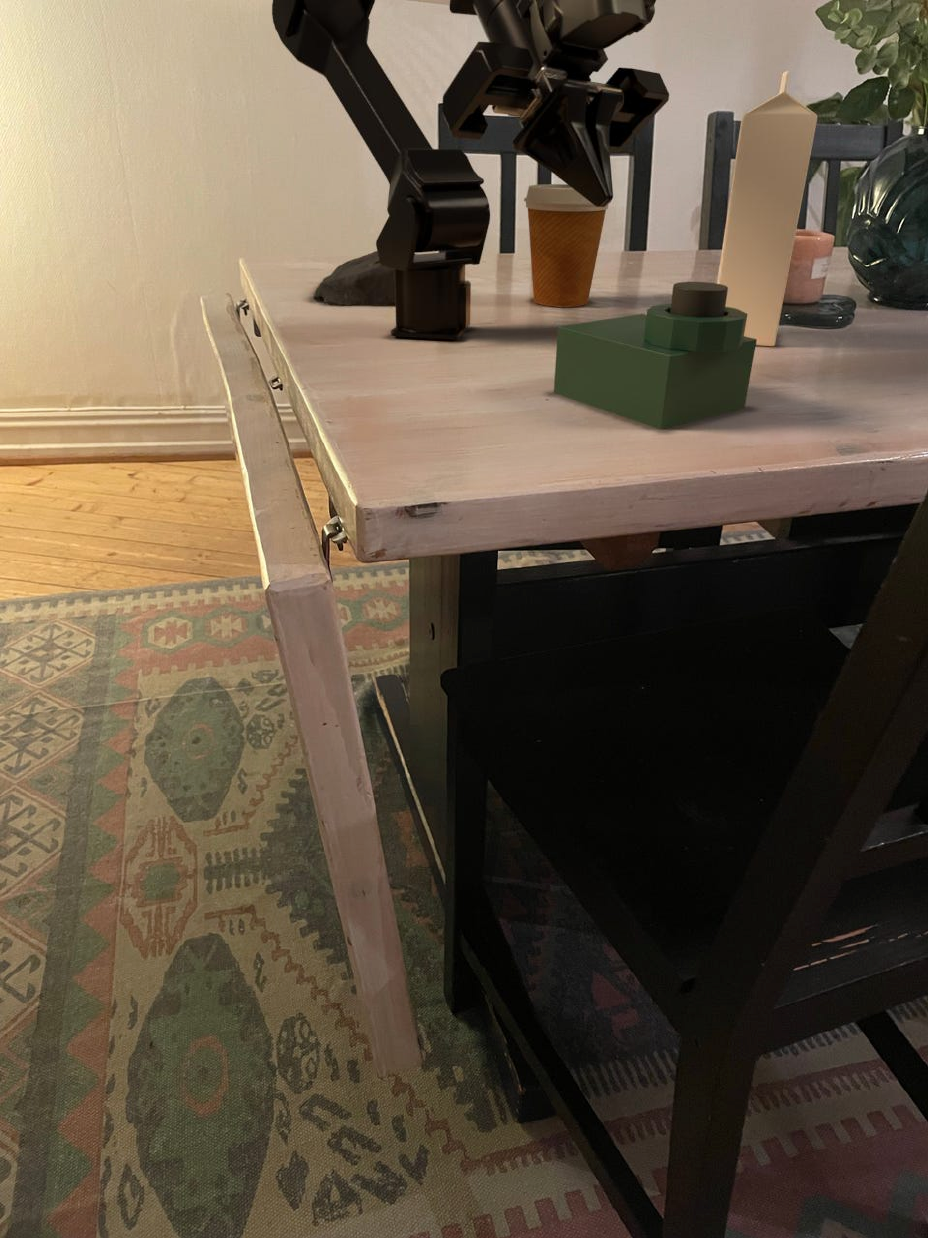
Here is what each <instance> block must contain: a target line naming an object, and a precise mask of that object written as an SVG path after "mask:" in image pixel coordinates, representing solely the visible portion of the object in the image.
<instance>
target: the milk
mask: <svg viewBox="0 0 928 1238" xmlns="http://www.w3.org/2000/svg"><path fill="white" fill-rule="evenodd" d="M789 71H790V70H789V69H788V70H785V71H784V72H783V73H782V74H781V75H782V76H781V82H780V87H779V91H778V92H779V93H778V94H776V95H774V96H773V97H771V98H769V99H767V100H765V101H764V102H762V103H761V104H759V105H757V106H756V107H754V108H752V109H750V110H749V111H747V112H745V113H744V114H742V115H741V120H740V127H739V134H738V140H737V147H736V154H735V159H734V160H735V161H734V167H733V173H732V179H731V180H732V181H731V187H730V194H729V195H730V196H729V201H728V206H727V207H728V208H727V212H726V213H727V214H726V222H725V225H724V234H723V240H722V247H721V254H720V260H719V268H718V274H717V281H716V284H721V285H725V286H727V287H728V292H727V299H726V305H725V307H730V308H736V309H738V310H740V311H742V312H744V313H747V320H746V326H745V332H744V336H745V337H749V338H754V339H757V341H756V346H762V347H763V346H764V347H775V345H776V341H777V336H778V330H779V325H780V319H781V314H782V309H783V303H784V297H785V293H786V287H787V283H788V277H789V271H790V265H791V261H792V254H793V250H794V245H795V239H796V233H797V228H798V222H799V218H800V212H801V208H802V207H801V206H802V201H803V196H804V192H805V186H806V181H807V175H808V171H809V165H810V159H811V153H812V149H813V144H814V139H815V138H814V137H815V133H816V129H817V128H816V127H817V121H818V114H816V113H815V112H814V111H812V110H811V109H810V108H808V107H807V106H806V105H804V104H803V103H802V102H800V101H799V100H798V99H796V98H795V97H794V96H792V95H791V94H790V93H788V92H787V84H788V78H789V73H790V72H789Z"/></svg>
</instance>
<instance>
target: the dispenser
mask: <svg viewBox="0 0 928 1238" xmlns="http://www.w3.org/2000/svg"><path fill="white" fill-rule="evenodd" d="M670 308H671V302H668V303H660V304H655V305H652V306H650V307H649V308H648V309H646V314H645V313H638V314H632V315H625V316H619V317H612V318H605V319H599V320H592V321H585V322H578V323H572V324H566V325H559V326H558V327H557V336H556V350H555V351H556V352H555V364H554V365H555V368H554V383H553V394H555V395H558V396H561V397H564V398H567V399H570V400H573V401H576V402H578V403H581V404H585V405H587V406H589V407H594V408H596V409H598V410H602V411H605V412H608V413H610V414H614V415H617V416H620V417H622V418H625V419H628V420H631V421H634V422H636V423H637V422H638V423H640V424H643V425H646V426H649V427H652V428H655V429H658V430H661V431H662V430H666V429H669V428H670V429H671V428H674V427H677V426H681V425H685V424H688V423H693V422H697V421H701V420H704V419H709V418H712V417H717V416H720V415H724V414H727V413H733V412H736V411H740V410H744V409H745V407H746V403H747V396H748V391H749V385H750V379H751V374H752V369H753V364H754V358H755V351H756V346H757V345H756V341H757V339H754V338H749V337H745V336H744V332H745V326H746V320H747V313H744V312H742V311H740V310H738V309H736V308H730V307H725V311H724V316H722V317H716V318H697V317H686V316H680V315H675V314H671V313H670Z"/></svg>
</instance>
